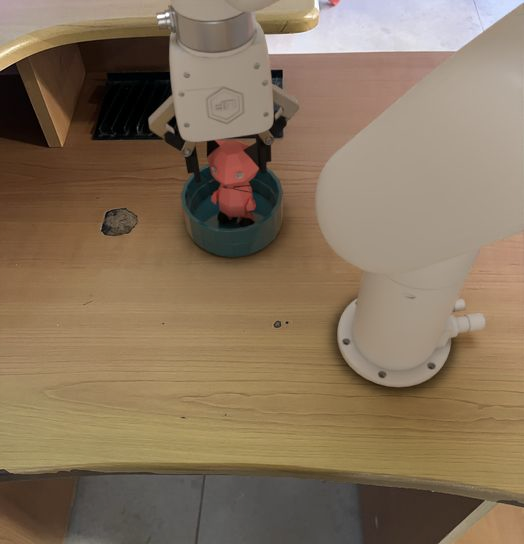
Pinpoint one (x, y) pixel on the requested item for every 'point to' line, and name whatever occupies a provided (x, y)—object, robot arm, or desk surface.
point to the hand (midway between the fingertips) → (229, 169)
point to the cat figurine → (233, 178)
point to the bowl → (231, 234)
